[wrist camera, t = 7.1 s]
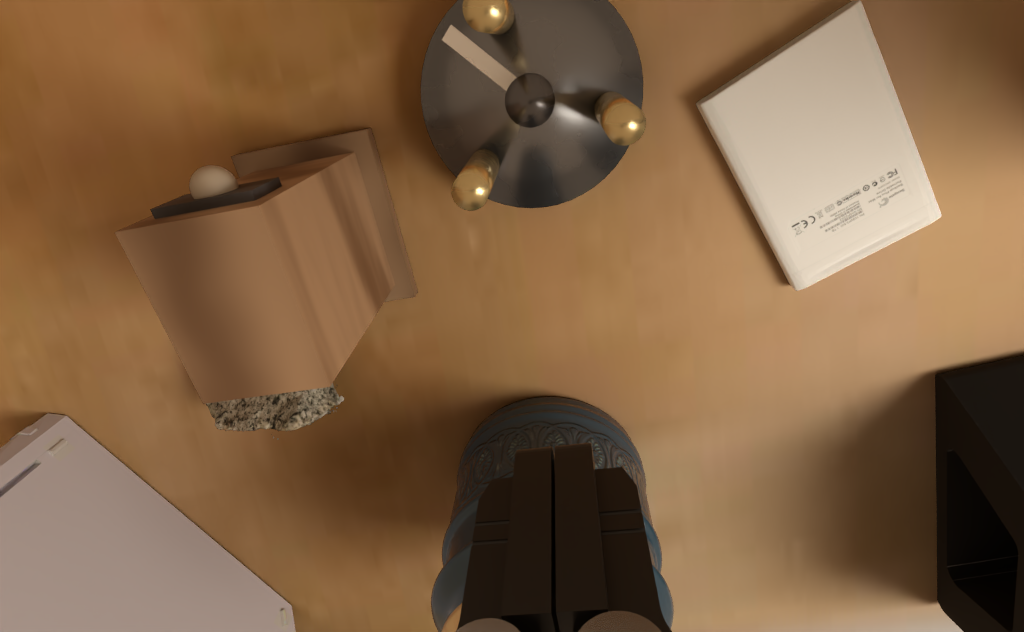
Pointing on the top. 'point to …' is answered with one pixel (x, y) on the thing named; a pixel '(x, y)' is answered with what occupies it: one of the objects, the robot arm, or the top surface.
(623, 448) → the canister
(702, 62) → the top surface
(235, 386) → the brown angular box
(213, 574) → the game console
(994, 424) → the device stand
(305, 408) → the rock sample
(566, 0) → the three-bulb candle holder
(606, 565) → the robot arm
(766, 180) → the external hard drive
